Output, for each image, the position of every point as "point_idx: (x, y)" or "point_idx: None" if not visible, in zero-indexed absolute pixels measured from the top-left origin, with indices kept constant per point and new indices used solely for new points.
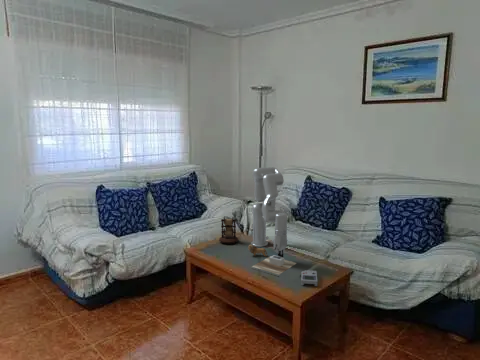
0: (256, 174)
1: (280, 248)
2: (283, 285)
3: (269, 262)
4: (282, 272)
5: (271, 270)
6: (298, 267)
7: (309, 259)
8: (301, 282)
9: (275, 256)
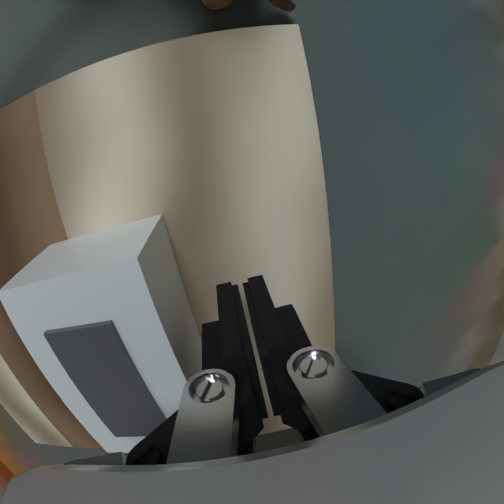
0: None
1: None
2: (32, 465)
3: (44, 250)
4: (72, 446)
5: (2, 379)
6: (292, 428)
7: (473, 353)
8: None
9: (109, 357)
